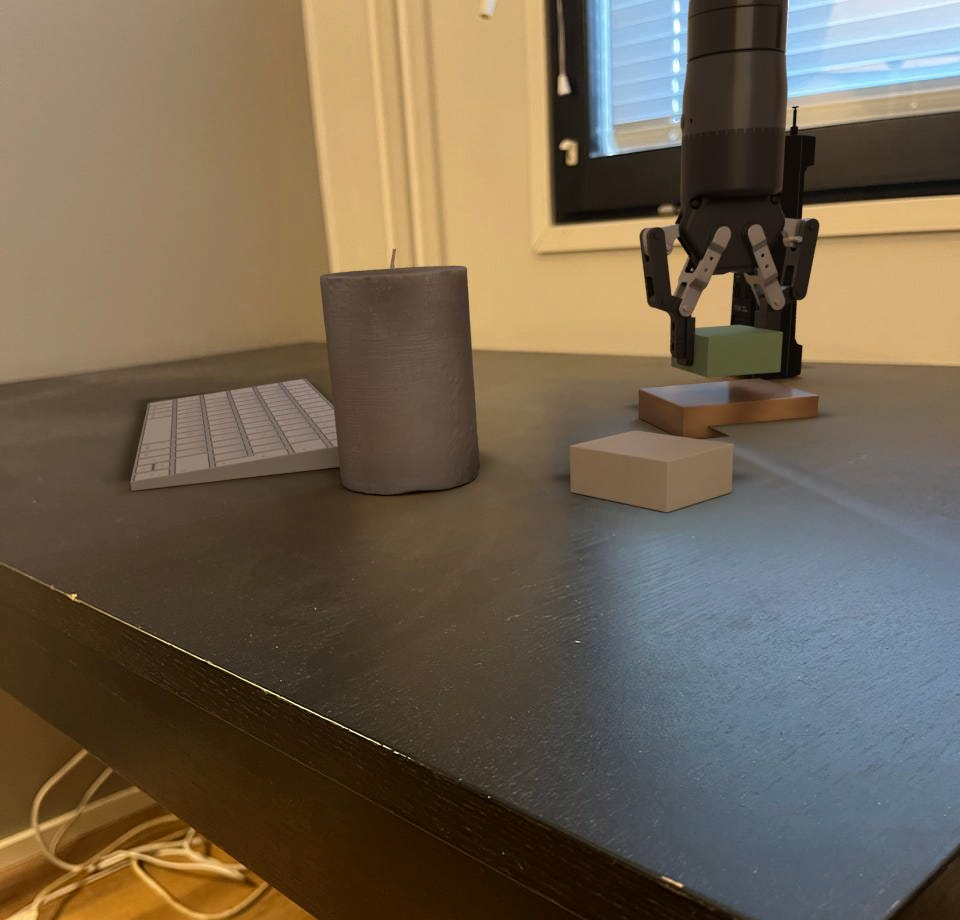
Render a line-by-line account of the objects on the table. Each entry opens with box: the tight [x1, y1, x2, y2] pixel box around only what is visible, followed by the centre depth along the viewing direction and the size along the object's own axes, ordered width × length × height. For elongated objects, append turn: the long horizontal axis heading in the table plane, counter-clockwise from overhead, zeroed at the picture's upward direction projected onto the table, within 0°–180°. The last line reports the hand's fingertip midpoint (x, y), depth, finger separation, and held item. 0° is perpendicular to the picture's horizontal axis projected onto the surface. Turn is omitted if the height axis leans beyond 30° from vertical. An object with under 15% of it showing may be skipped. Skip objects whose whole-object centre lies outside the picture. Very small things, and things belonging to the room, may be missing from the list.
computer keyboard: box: [129, 378, 340, 492], centre depth 91 cm, size 43×19×2 cm, turn 14°
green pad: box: [670, 324, 783, 379], centre depth 79 cm, size 6×8×3 cm
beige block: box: [569, 430, 734, 513], centre depth 61 cm, size 6×8×3 cm
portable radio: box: [729, 105, 817, 380], centre depth 100 cm, size 8×6×25 cm
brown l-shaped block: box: [638, 378, 820, 439], centre depth 81 cm, size 11×11×2 cm
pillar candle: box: [319, 248, 481, 496], centre depth 66 cm, size 10×10×15 cm
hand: (724, 361), depth 79 cm, fingers closed on green pad, 6 cm apart
